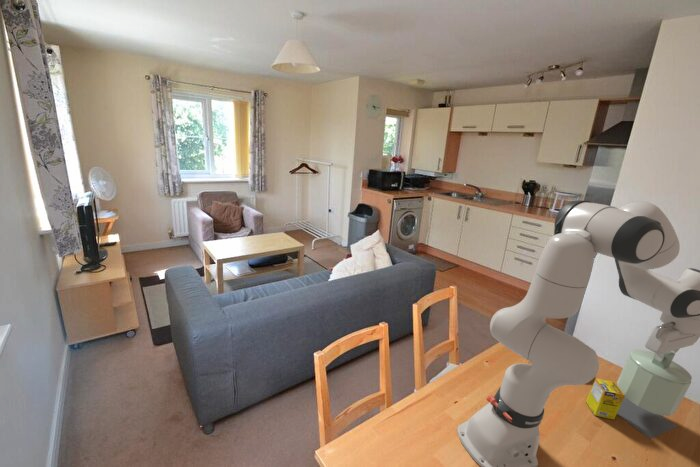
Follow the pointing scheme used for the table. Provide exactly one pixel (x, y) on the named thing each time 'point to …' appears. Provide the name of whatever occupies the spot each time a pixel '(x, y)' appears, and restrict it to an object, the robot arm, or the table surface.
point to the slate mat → (644, 419)
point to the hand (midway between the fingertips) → (662, 358)
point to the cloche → (654, 382)
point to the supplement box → (605, 399)
